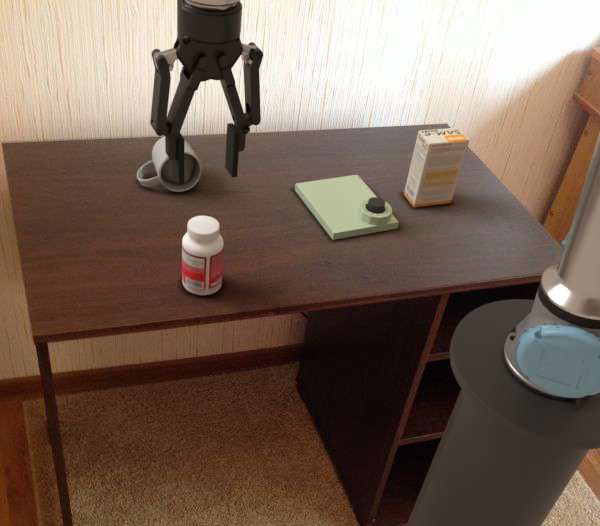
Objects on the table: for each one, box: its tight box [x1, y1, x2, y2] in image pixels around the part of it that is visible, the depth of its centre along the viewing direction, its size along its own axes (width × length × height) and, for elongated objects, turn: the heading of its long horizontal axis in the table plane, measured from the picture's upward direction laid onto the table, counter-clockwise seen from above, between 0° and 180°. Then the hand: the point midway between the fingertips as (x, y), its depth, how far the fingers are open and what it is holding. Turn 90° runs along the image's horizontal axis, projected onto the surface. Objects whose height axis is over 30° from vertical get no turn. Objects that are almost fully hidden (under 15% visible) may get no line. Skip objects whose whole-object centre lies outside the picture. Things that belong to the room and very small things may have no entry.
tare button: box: [367, 196, 386, 214], centre depth 132 cm, size 3×3×2 cm
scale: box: [294, 174, 400, 241], centre depth 135 cm, size 16×13×3 cm
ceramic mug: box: [136, 135, 202, 193], centre depth 133 cm, size 11×8×8 cm
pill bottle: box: [181, 215, 225, 296], centre depth 113 cm, size 6×6×11 cm
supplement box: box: [403, 127, 470, 208], centre depth 137 cm, size 8×5×13 cm, turn 111°
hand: (205, 175), depth 103 cm, fingers open, 7 cm apart
